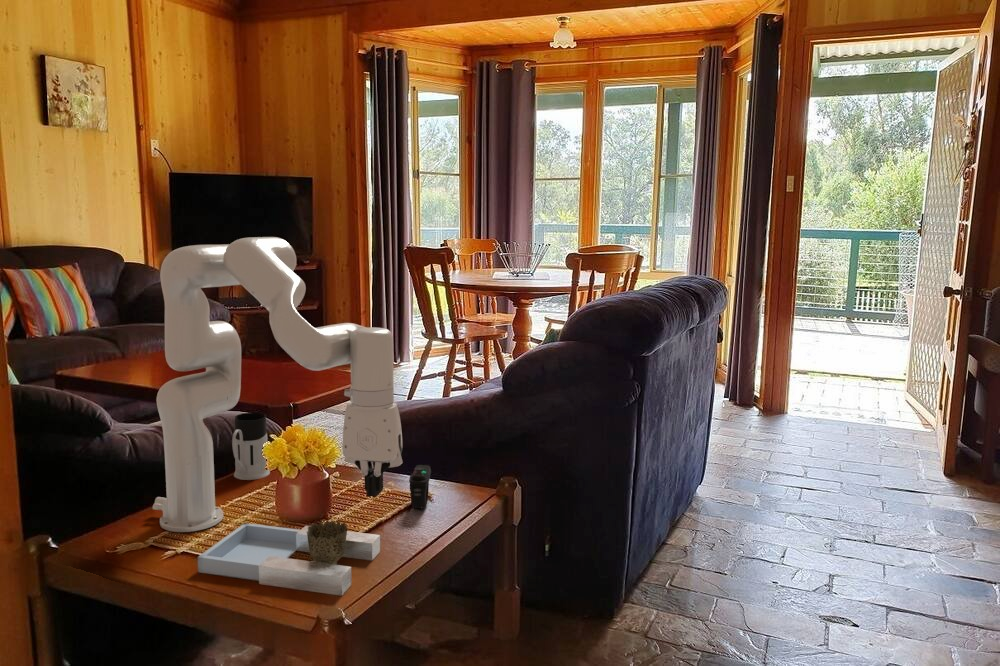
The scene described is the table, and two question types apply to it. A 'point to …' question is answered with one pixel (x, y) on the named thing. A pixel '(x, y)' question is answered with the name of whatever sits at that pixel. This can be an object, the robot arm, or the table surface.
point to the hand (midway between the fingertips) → (374, 494)
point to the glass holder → (249, 446)
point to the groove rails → (318, 566)
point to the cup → (327, 541)
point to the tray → (247, 550)
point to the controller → (420, 485)
